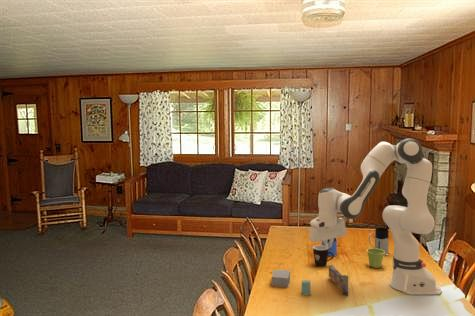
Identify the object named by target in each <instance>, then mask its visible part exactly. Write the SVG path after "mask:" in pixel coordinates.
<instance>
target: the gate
mask: <svg viewBox="0 0 475 316" xmlns="http://www.w3.org/2000/svg"><path fill="white" fill-rule="evenodd" d="M343 275H344V274H342V273H341V272H340V271H339V270H338V269H337V268H336V267H335V266H334V265H333V264H328V277H329V279H331V281H332V282H333V283H334V284H335V285H336V286H337V287H338V289H339V290H340V291H341V292H342V293H343Z"/></svg>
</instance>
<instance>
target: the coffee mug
mask: <svg viewBox="0 0 475 316" xmlns="http://www.w3.org/2000/svg"><path fill="white" fill-rule="evenodd" d="M328 249H329V248H326V247H325V246H323V245H322V244H318V245H314V246H312V250H313V251H312V252H313V259H314V260H313V262H314V266H316V267H320V268H323V267H327V263H328V262H330V261H331V260H333V259H334V257H335V256H333V253H331V252H328ZM328 253H331V254H332V257H330V258H329V259H328V257H327V256H328Z"/></svg>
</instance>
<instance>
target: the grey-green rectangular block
mask: <svg viewBox="0 0 475 316" xmlns="http://www.w3.org/2000/svg"><path fill="white" fill-rule="evenodd" d="M311 289H312V288H311V280H301V296H311Z"/></svg>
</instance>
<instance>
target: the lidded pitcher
mask: <svg viewBox="0 0 475 316" xmlns="http://www.w3.org/2000/svg"><path fill="white" fill-rule="evenodd" d="M389 231H390V229H389V228H386V227H376V228H375V233H374V232H370V233H369V234H368V242H369V244H370V246H371V248H376V249H381V250H383V251H385V253H384V255H386V254H388V253H389V254H390V252H389V246H390V244H389V243H390V241H389V240H390V236H389V235H390V234H389V233H390V232H389ZM372 234H373V238H374V246H373V244H372V243H371V239H370V238H371V235H372Z"/></svg>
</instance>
